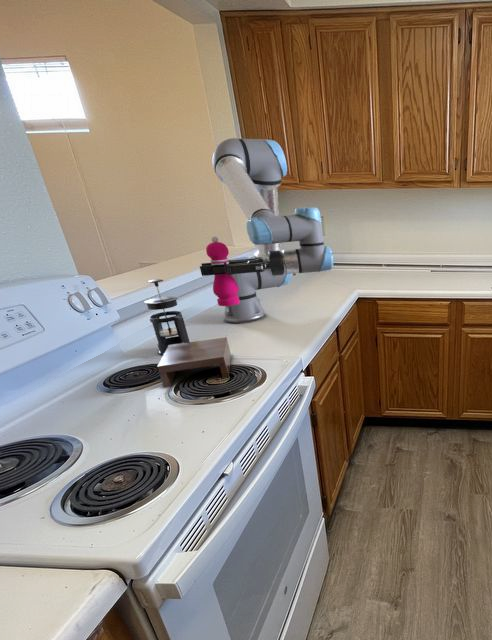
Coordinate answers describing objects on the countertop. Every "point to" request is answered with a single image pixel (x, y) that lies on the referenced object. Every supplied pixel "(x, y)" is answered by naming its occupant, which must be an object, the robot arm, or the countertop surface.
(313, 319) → the countertop surface
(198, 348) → the shelf
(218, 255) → the pepper mill
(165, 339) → the french press
